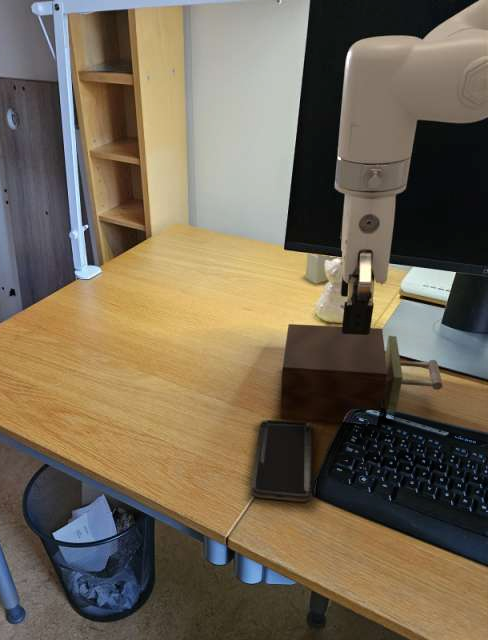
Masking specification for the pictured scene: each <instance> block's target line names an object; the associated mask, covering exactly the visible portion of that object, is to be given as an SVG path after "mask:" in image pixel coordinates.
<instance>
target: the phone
mask: <svg viewBox="0 0 488 640" xmlns="http://www.w3.org/2000/svg"><path fill="white" fill-rule="evenodd" d="M256 445H257V447H256V454H255V461H254V467H253V474H252V481H251V493H252V495H253V496H254V497H255V498H258V499H265V500H275V501H286V502H294V503H295V502H297V503H306V502H309V501H310V500H311V499H312V490H313V455H314V454H313V453H314V452H313V450H314V449H313V448H314V427H313V425H312V424H311V423H309V422H301V421H286V420H276V419H275V420H273V419H266V420H263V421H261V422H260V424H259V431H258V437H257V442H256Z"/></svg>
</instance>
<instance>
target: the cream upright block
mask: <svg viewBox="0 0 488 640" xmlns="http://www.w3.org/2000/svg"><path fill="white" fill-rule="evenodd" d="M333 259H337V257H330V256H322V255H313V254H307V253H306V265H305V266H306V268H305V279H307V280H308V281H310V282H312V283H313V284H315V285H317V284H320V283H324V282H328V281H329V280H328V278H327V277H326V272H325V267H324V265H325V261H326V260H329V261H332V260H333ZM339 259H341V260H342V258H339Z"/></svg>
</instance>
